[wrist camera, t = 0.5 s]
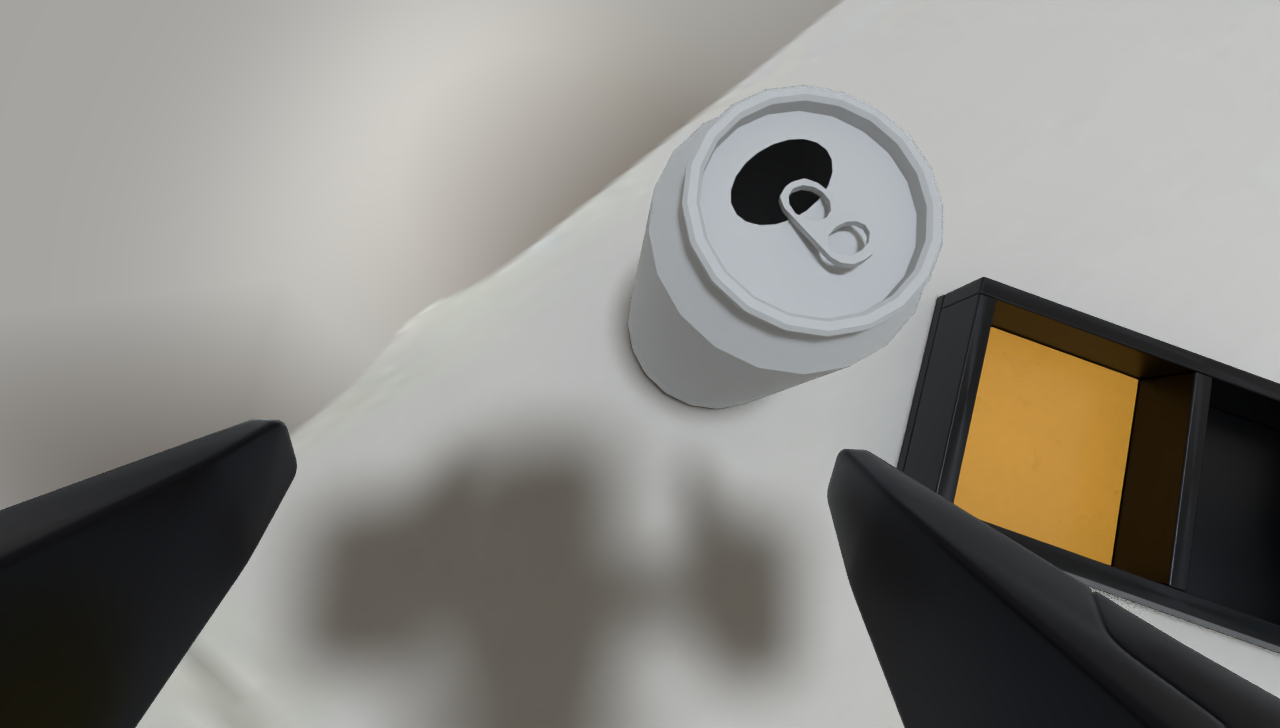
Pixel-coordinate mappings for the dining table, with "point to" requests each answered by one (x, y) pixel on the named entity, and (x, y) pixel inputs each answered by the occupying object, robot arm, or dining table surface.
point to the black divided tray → (1105, 455)
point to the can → (782, 247)
